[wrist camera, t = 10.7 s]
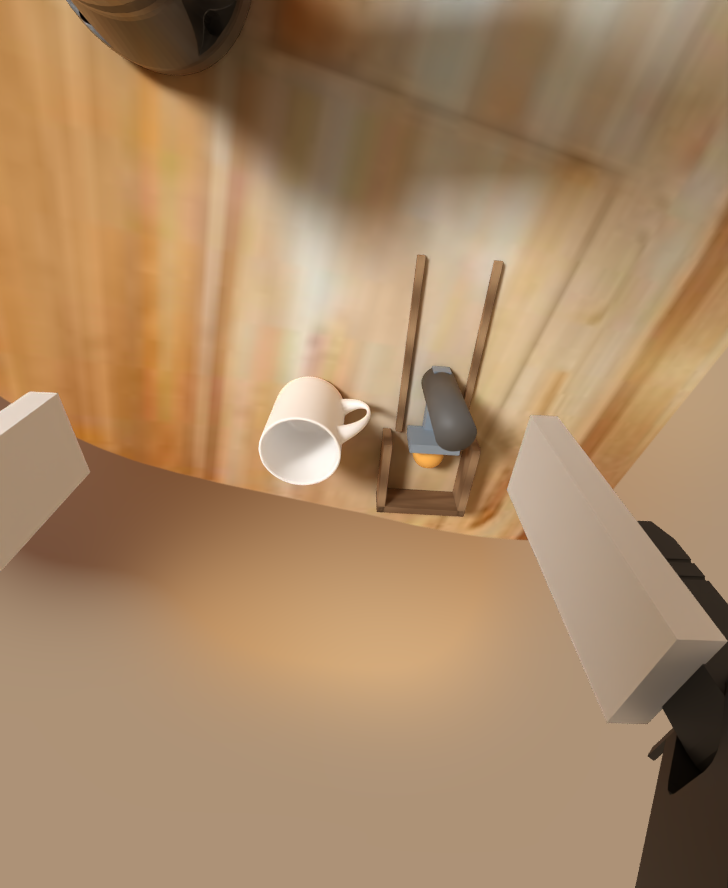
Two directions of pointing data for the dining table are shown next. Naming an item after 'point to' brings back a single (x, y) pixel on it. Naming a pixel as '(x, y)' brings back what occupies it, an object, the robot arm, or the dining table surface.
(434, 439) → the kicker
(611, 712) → the robot arm
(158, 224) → the dining table surface
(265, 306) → the dining table surface
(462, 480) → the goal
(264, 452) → the mug
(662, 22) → the dining table surface
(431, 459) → the ball
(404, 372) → the lane
